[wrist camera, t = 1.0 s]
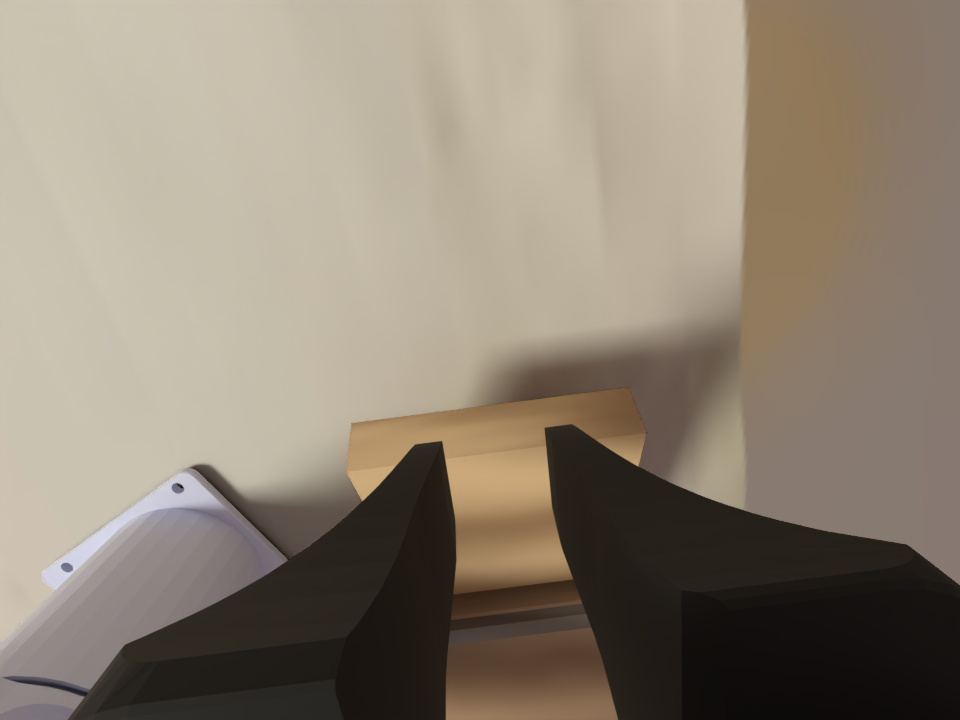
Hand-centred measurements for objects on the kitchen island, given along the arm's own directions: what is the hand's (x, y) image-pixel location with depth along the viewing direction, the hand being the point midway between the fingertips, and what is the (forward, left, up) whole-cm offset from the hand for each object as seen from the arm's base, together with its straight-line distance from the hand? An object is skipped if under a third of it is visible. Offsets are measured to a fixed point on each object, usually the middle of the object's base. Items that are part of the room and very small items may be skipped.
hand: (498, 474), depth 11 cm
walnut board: (-8, -14, -10) cm, 19 cm away
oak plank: (-3, -5, -8) cm, 9 cm away
